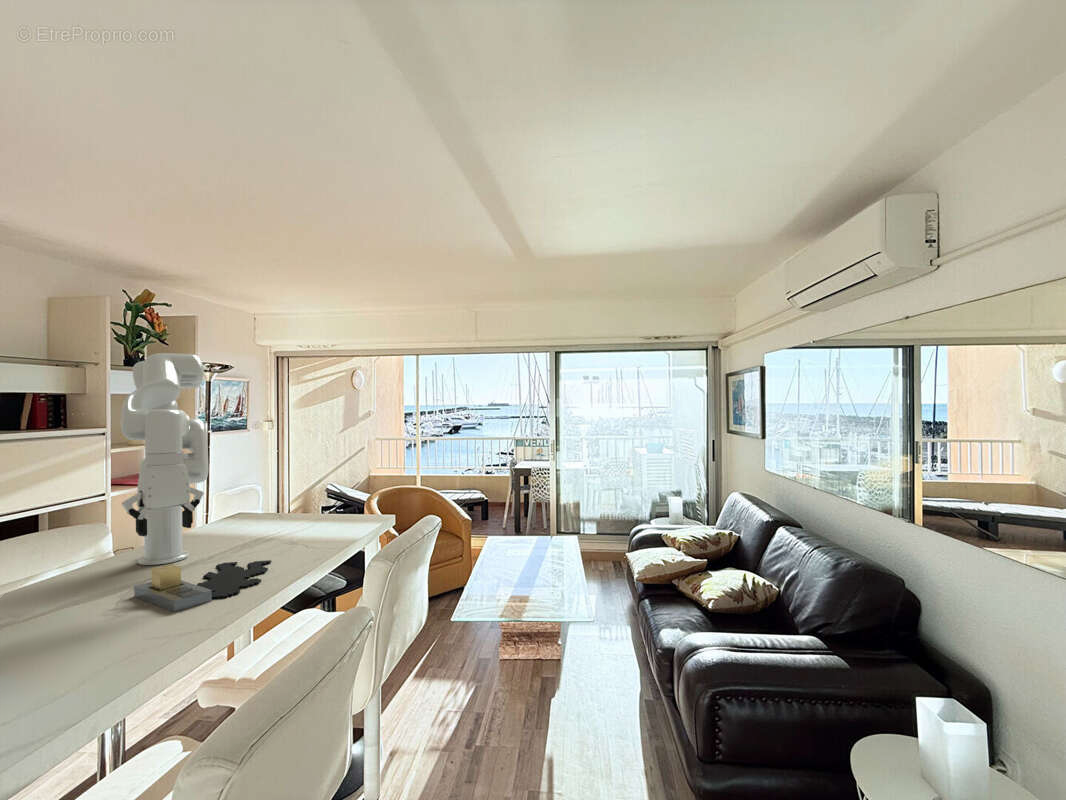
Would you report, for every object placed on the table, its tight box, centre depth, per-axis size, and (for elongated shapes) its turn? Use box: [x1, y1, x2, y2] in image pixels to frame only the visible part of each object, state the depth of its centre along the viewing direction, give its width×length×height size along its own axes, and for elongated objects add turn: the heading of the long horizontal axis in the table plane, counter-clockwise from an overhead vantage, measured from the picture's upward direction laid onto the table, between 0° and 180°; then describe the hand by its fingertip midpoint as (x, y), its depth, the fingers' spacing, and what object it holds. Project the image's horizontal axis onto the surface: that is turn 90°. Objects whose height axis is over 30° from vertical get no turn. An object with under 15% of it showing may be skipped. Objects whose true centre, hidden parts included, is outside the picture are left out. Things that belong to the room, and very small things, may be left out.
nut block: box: [150, 563, 182, 592], centre depth 131 cm, size 4×4×7 cm
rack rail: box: [133, 579, 213, 613], centre depth 129 cm, size 20×8×3 cm, turn 58°
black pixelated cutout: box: [196, 559, 272, 601], centre depth 143 cm, size 16×1×30 cm
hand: (165, 531), depth 131 cm, fingers open, 9 cm apart
